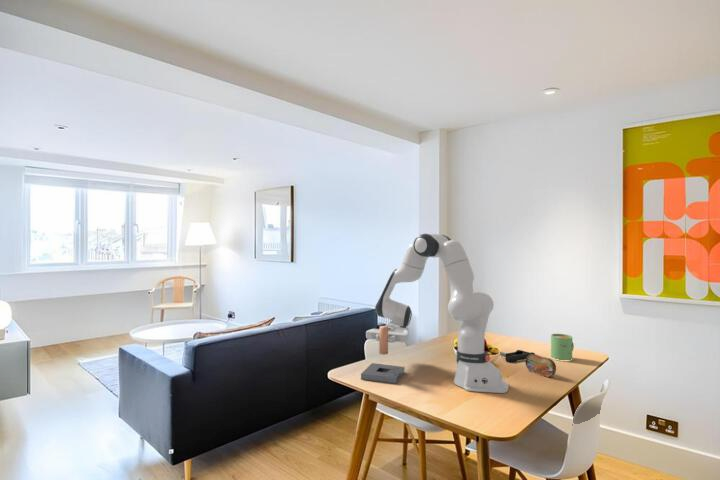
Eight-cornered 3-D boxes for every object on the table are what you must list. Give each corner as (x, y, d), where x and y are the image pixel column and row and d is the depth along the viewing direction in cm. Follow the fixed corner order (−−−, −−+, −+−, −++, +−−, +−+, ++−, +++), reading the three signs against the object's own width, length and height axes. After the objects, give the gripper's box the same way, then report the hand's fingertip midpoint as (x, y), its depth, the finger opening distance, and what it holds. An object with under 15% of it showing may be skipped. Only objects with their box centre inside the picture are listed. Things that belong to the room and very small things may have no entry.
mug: (560, 362, 203) (560, 338, 203) (546, 356, 213) (546, 334, 213) (581, 360, 206) (581, 337, 206) (566, 355, 216) (566, 333, 216)
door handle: (487, 351, 214) (510, 357, 200) (514, 347, 223) (538, 353, 208) (487, 357, 214) (511, 364, 199) (514, 353, 223) (538, 359, 208)
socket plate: (404, 372, 185) (404, 367, 185) (396, 384, 169) (396, 378, 169) (371, 368, 190) (372, 363, 190) (361, 379, 175) (361, 373, 175)
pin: (389, 352, 181) (389, 326, 181) (386, 354, 177) (387, 328, 177) (380, 351, 182) (380, 325, 182) (378, 354, 179) (378, 327, 178)
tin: (524, 369, 190) (525, 352, 190) (529, 368, 192) (529, 351, 192) (552, 379, 177) (552, 360, 177) (557, 378, 179) (557, 360, 179)
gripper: (370, 324, 195) (361, 330, 182) (411, 327, 189) (405, 334, 176) (370, 337, 195) (361, 344, 182) (411, 341, 189) (404, 348, 176)
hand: (383, 339), depth 179 cm, fingers closed on pin, 4 cm apart
